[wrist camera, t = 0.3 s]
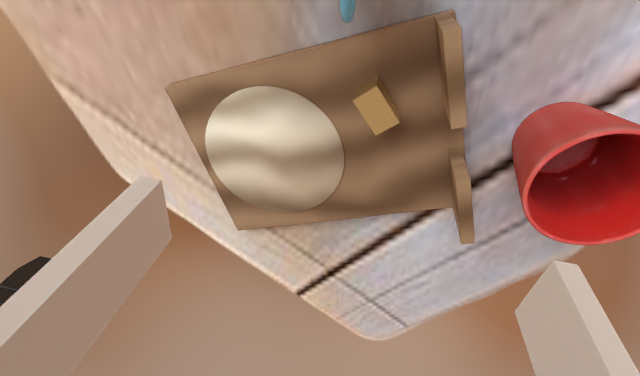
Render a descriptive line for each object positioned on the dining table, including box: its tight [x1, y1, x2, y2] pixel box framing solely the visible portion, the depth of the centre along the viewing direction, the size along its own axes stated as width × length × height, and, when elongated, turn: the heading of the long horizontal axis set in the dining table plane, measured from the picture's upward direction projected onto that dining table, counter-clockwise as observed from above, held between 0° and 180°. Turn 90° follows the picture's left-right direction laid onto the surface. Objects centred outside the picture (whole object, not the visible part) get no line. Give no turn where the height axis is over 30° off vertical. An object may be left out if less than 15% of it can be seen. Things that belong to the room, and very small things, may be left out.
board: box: [165, 9, 475, 244], centre depth 36 cm, size 20×29×8 cm
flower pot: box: [512, 102, 640, 245], centre depth 31 cm, size 11×11×10 cm
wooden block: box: [352, 76, 400, 136], centre depth 33 cm, size 4×2×3 cm, turn 36°
